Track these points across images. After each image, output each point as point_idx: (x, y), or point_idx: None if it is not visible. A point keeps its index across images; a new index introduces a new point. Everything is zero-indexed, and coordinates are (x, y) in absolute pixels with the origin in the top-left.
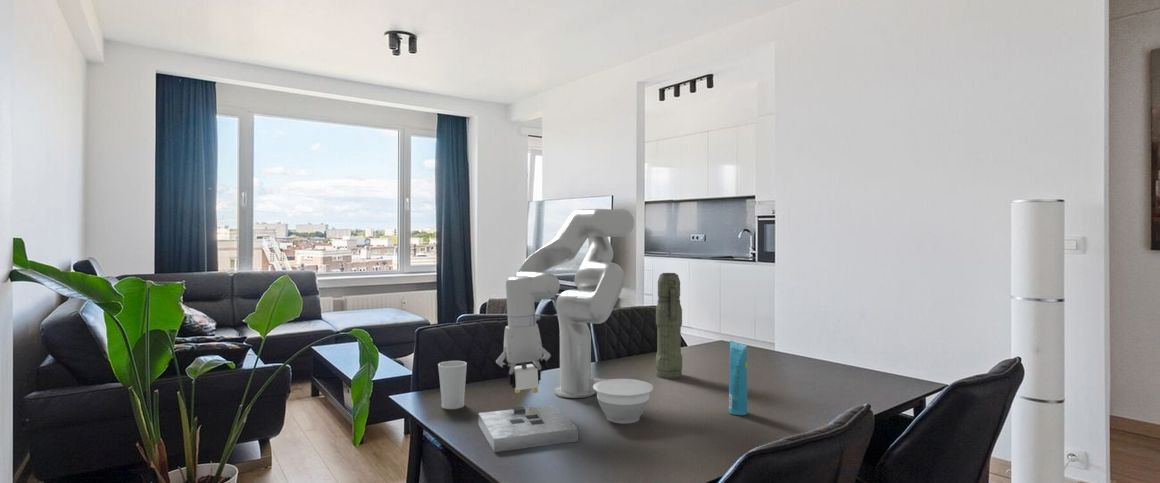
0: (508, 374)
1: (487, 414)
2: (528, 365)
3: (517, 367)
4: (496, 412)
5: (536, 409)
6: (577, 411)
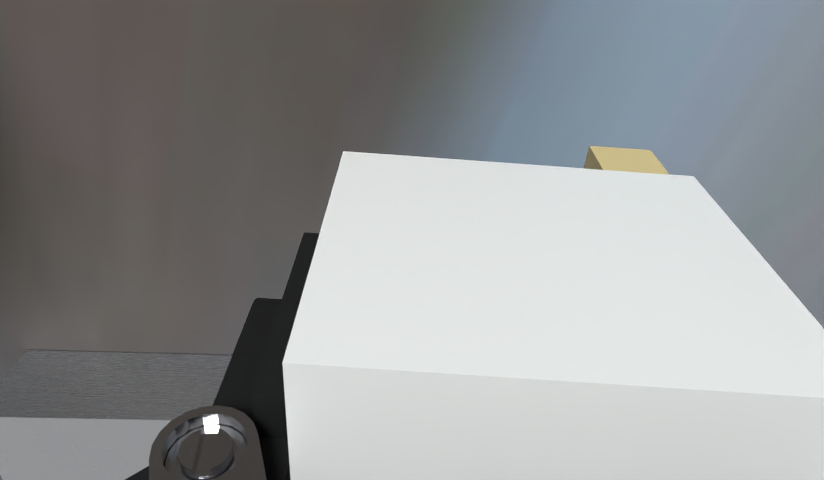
0: (215, 399)
1: (56, 459)
2: (718, 468)
3: (418, 474)
4: (131, 444)
5: None
6: None
